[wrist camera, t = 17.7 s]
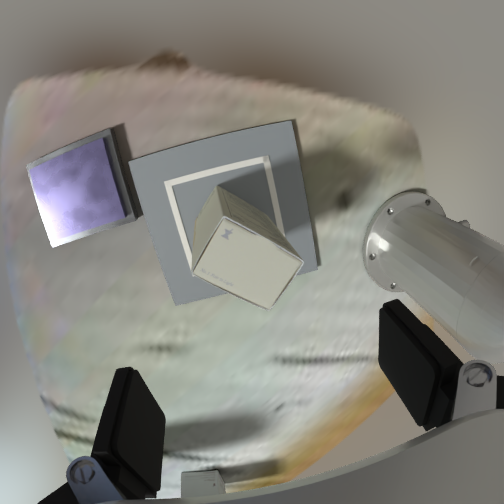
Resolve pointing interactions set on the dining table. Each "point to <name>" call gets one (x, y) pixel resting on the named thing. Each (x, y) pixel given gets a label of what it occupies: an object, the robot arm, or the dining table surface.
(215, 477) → the supplement box
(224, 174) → the card
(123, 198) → the ink pad
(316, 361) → the dining table surface
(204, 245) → the skincare box
